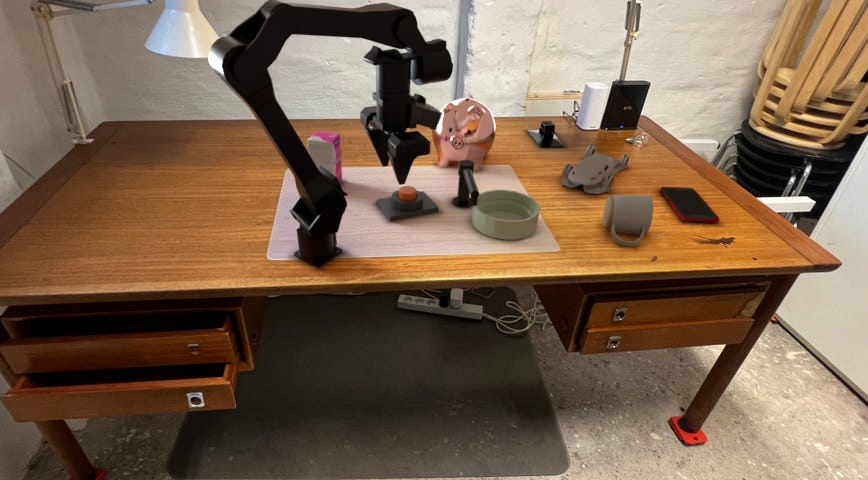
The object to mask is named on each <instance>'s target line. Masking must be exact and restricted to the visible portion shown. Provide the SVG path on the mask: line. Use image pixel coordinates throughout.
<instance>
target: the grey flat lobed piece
mask: <svg viewBox="0 0 868 480" xmlns="http://www.w3.org/2000/svg"><path fill="white" fill-rule="evenodd" d="M629 161H630V155H629V154H628V153H623V154H622V155H621V157H620V159H619V160H617V159H616V158H615V157H613V156H611V155H610V154H606V153H596V146H594V145H588V146H587V148H586V150H585V153H584V158H582V159H581V160H580V161H578V162H577V163H576V164H575V165H572V164H570V163H566V164H565V165H564V167H563V168H562V172H561V184H562V186H564V187H566V188H569V189H572V190H573V189H582V191H584V193H585V194H590V195H601V194H604V193H606V192H607V193H608V192H609V191H610V190H611V188H612V186H613V182H614V178H615V176H616V174H617V173H619V172H620V171H622V170H625V169H626V168H627V166H628V163H629Z"/></svg>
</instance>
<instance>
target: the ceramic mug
mask: <svg viewBox="0 0 868 480" xmlns="http://www.w3.org/2000/svg"><path fill="white" fill-rule="evenodd" d="M653 216H654V201H653V197H652V196H651V195H635V194H634V195H633V194H613V195H609V196H608V197H607V198H606V200H605V203H604V206H603V211H602V225H603V228H604V229H605V230H607V231H610V235H611V237H612V240H613V241H614V242H615V243H616V244H618V245H620V246H623V247H629V248H631V247H634V246H635V247H636V246H637V245H638V244H639V243H640V242H642V240H643V238H644V236H645V235H647V234H648V233H649V231H650V229H651V226H652V222H653V218H654V217H653ZM617 233H626V234H630V235H631V234H632V235H639V237H638V238H637V239H635V240H631V241H629V240H624V239H622V238H620V237H619V236H618V235H617Z"/></svg>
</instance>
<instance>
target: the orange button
mask: <svg viewBox="0 0 868 480" xmlns="http://www.w3.org/2000/svg"><path fill="white" fill-rule="evenodd" d="M398 190H399V199H401V200H406V201H409V200H414V199H415V198H416V190H417V189H416V187H414V186H411V185H404V186H401V187H399V188H398Z"/></svg>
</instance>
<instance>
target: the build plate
mask: <svg viewBox="0 0 868 480" xmlns="http://www.w3.org/2000/svg"><path fill="white" fill-rule="evenodd" d="M555 128H556V124H555V123H554V122H553V121H552V120H541V121H540V124H539V128H538V129H527V130H526V132H527V134H528V135H529V136H530V137H531V138H532V140H533V141H534V142H535V144H536V145H537V146H538V148H540V149H552V148H553V149H554V148H555V149H556V148H565V147H566V146H565V144H564V143H563V142H562V141H561V140H560V139H559V138H558V136H557V135H556V134H555V131H556V129H555Z"/></svg>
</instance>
